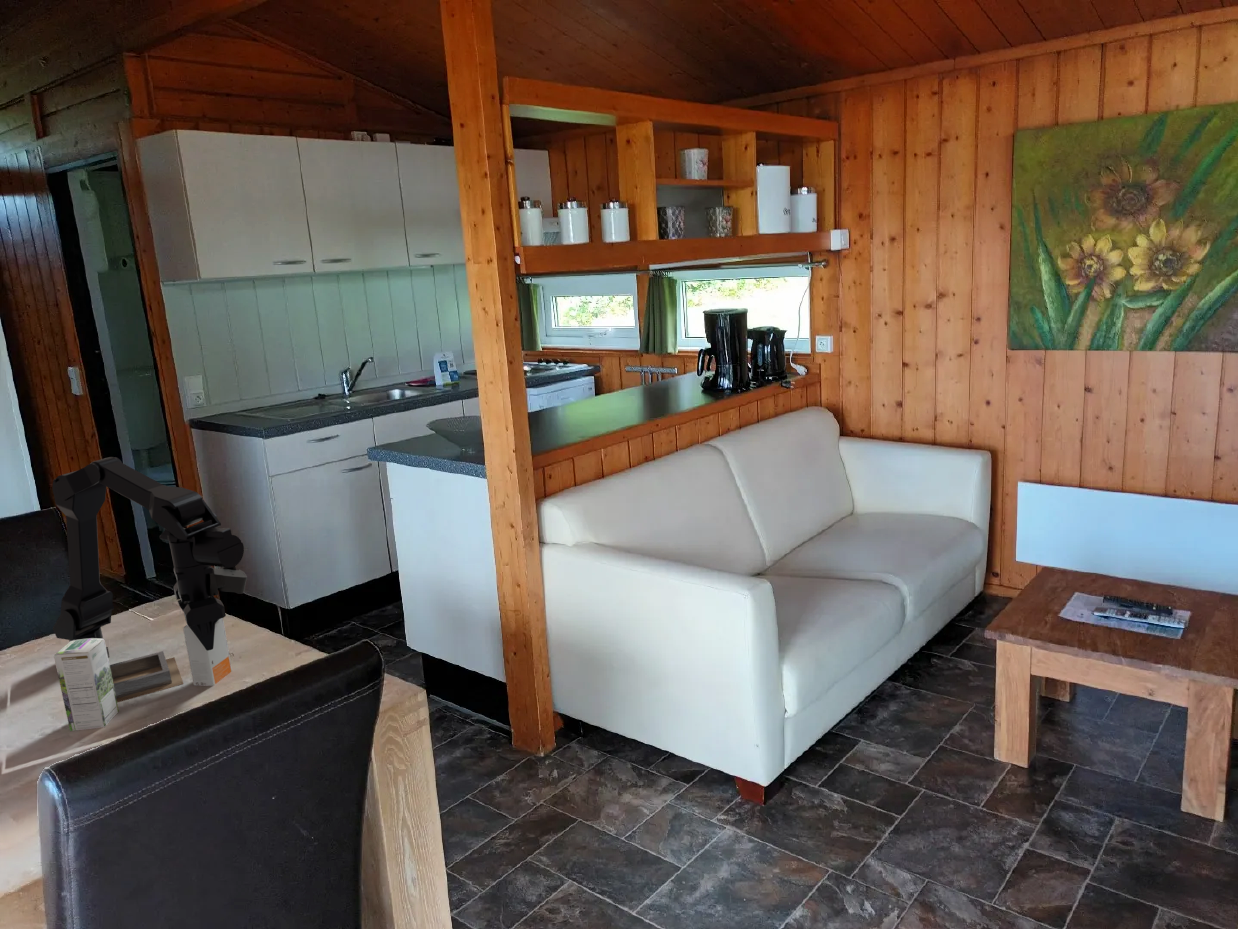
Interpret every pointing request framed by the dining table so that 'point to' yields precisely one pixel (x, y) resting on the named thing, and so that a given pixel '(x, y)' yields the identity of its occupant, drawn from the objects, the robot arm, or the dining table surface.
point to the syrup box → (86, 683)
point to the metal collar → (142, 681)
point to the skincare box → (208, 657)
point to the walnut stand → (172, 667)
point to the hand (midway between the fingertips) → (206, 643)
